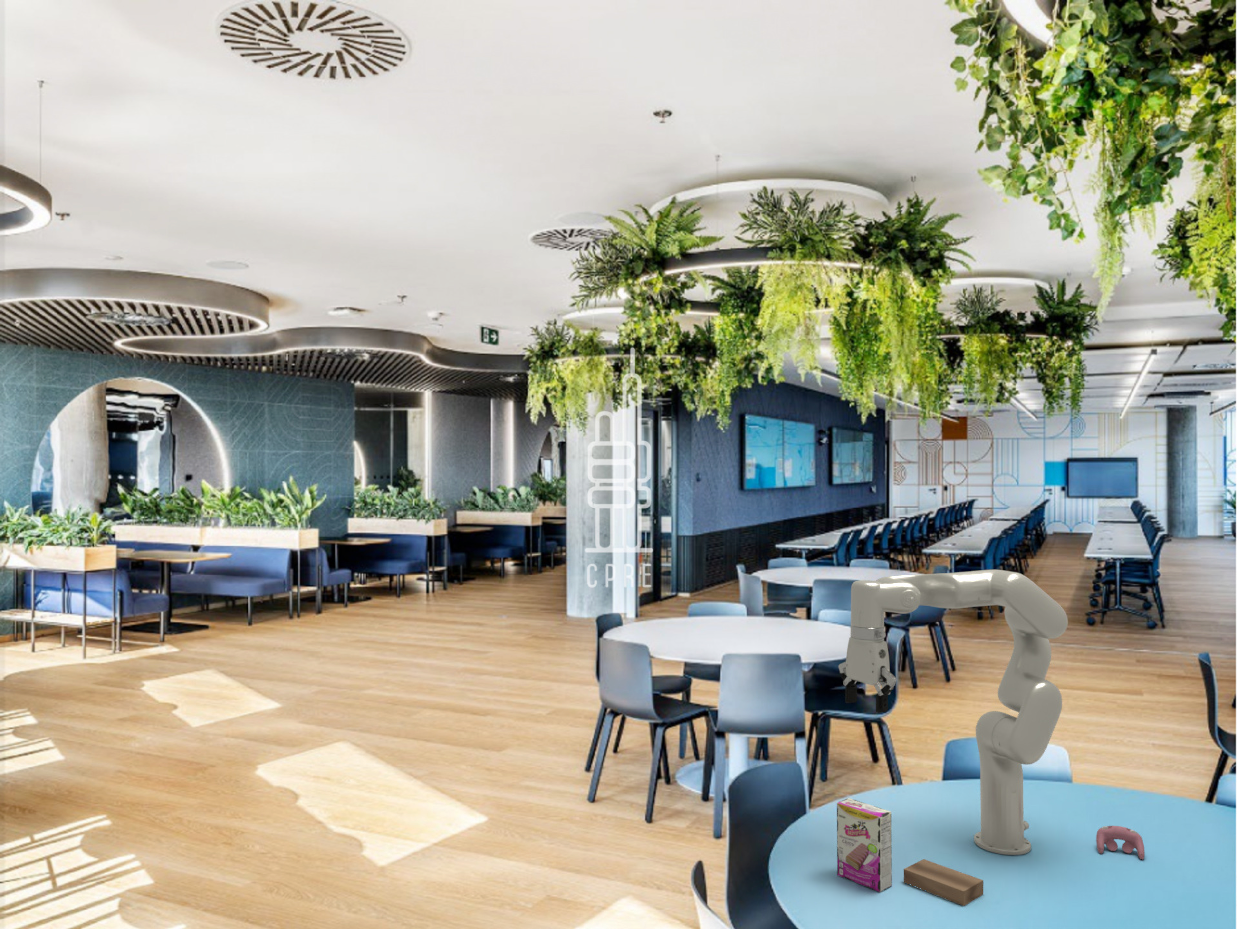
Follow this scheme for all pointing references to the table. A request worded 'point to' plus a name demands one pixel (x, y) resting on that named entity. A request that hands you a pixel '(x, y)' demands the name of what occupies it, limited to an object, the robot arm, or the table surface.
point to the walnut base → (944, 882)
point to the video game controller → (1121, 833)
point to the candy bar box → (864, 844)
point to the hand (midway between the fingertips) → (866, 707)
